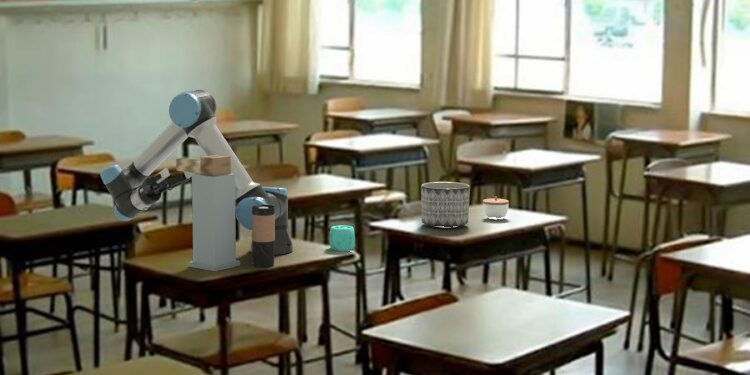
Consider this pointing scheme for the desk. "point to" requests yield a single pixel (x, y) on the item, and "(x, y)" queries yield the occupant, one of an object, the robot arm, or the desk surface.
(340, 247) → the decorative dice
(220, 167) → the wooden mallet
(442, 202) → the planter
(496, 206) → the lidded jar
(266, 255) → the travel mug
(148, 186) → the robot arm
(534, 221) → the desk surface
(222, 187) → the pedestal
